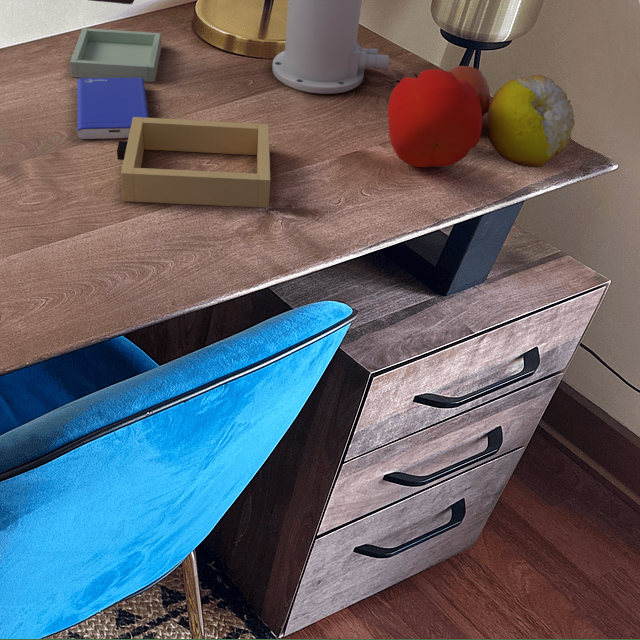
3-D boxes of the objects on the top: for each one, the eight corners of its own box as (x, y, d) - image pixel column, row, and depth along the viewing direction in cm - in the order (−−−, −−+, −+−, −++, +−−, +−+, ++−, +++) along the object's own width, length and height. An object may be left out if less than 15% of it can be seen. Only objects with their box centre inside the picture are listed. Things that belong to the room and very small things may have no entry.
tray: (161, 47, 116) (160, 32, 115) (154, 82, 108) (154, 67, 107) (83, 42, 115) (82, 27, 114) (71, 77, 107) (69, 61, 106)
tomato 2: (508, 76, 104) (495, 138, 105) (467, 83, 111) (455, 142, 111) (465, 56, 100) (452, 121, 100) (425, 65, 107) (413, 126, 107)
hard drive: (76, 77, 104) (77, 127, 95) (143, 77, 106) (149, 125, 97) (78, 89, 105) (78, 139, 96) (144, 88, 107) (150, 137, 98)
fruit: (564, 177, 102) (580, 157, 94) (479, 170, 103) (487, 149, 95) (571, 91, 104) (587, 63, 96) (486, 84, 104) (495, 57, 97)
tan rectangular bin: (267, 150, 98) (268, 124, 96) (268, 207, 89) (270, 180, 87) (125, 143, 96) (123, 116, 94) (113, 201, 88) (110, 172, 85)
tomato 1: (453, 186, 101) (442, 125, 104) (507, 127, 90) (493, 61, 94) (373, 175, 97) (365, 112, 100) (420, 113, 87) (408, 45, 90)
